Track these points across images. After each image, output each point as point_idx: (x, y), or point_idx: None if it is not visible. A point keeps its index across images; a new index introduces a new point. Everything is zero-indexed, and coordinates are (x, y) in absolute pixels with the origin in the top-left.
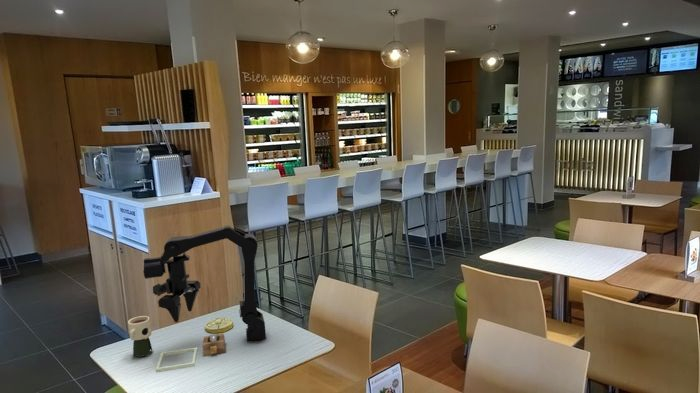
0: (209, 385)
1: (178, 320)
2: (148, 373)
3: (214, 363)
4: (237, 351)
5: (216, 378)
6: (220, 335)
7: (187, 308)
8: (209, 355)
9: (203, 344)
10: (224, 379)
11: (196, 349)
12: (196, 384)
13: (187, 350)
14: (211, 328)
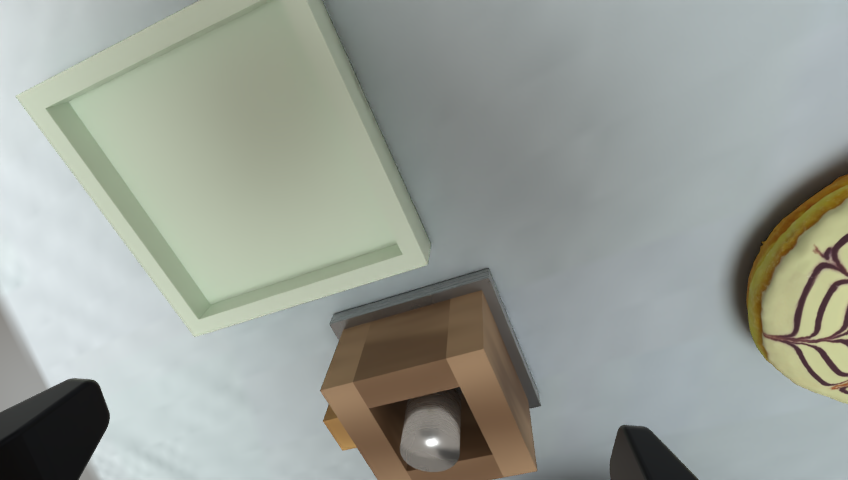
0: None
1: (90, 450)
2: (37, 3)
3: (292, 395)
4: None
5: (156, 444)
6: (496, 458)
7: (640, 476)
8: None
9: (327, 394)
10: (161, 475)
11: (388, 274)
12: None
13: (379, 199)
14: (789, 276)
